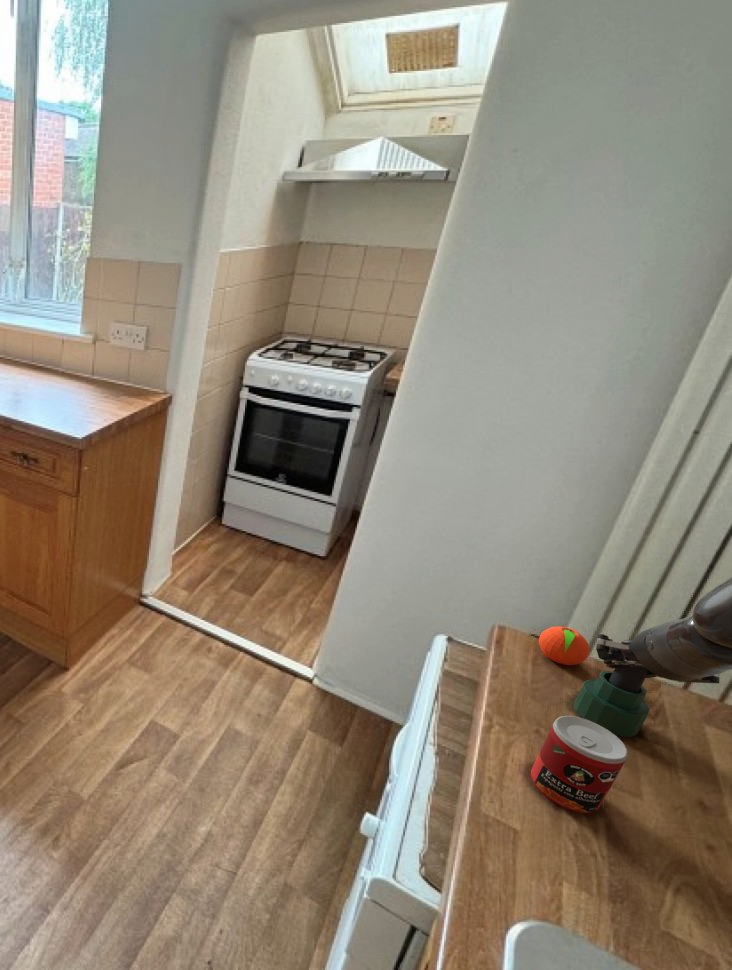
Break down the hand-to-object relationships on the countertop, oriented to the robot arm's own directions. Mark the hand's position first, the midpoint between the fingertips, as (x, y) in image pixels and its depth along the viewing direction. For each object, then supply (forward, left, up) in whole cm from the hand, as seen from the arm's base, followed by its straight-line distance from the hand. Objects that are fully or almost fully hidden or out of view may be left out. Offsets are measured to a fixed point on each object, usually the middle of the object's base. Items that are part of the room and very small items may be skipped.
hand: (626, 666), depth 99 cm
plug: (-1, +2, -4) cm, 4 cm away
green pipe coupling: (0, +2, -10) cm, 10 cm away
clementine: (+8, -10, -10) cm, 16 cm away
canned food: (+1, +25, -10) cm, 27 cm away
